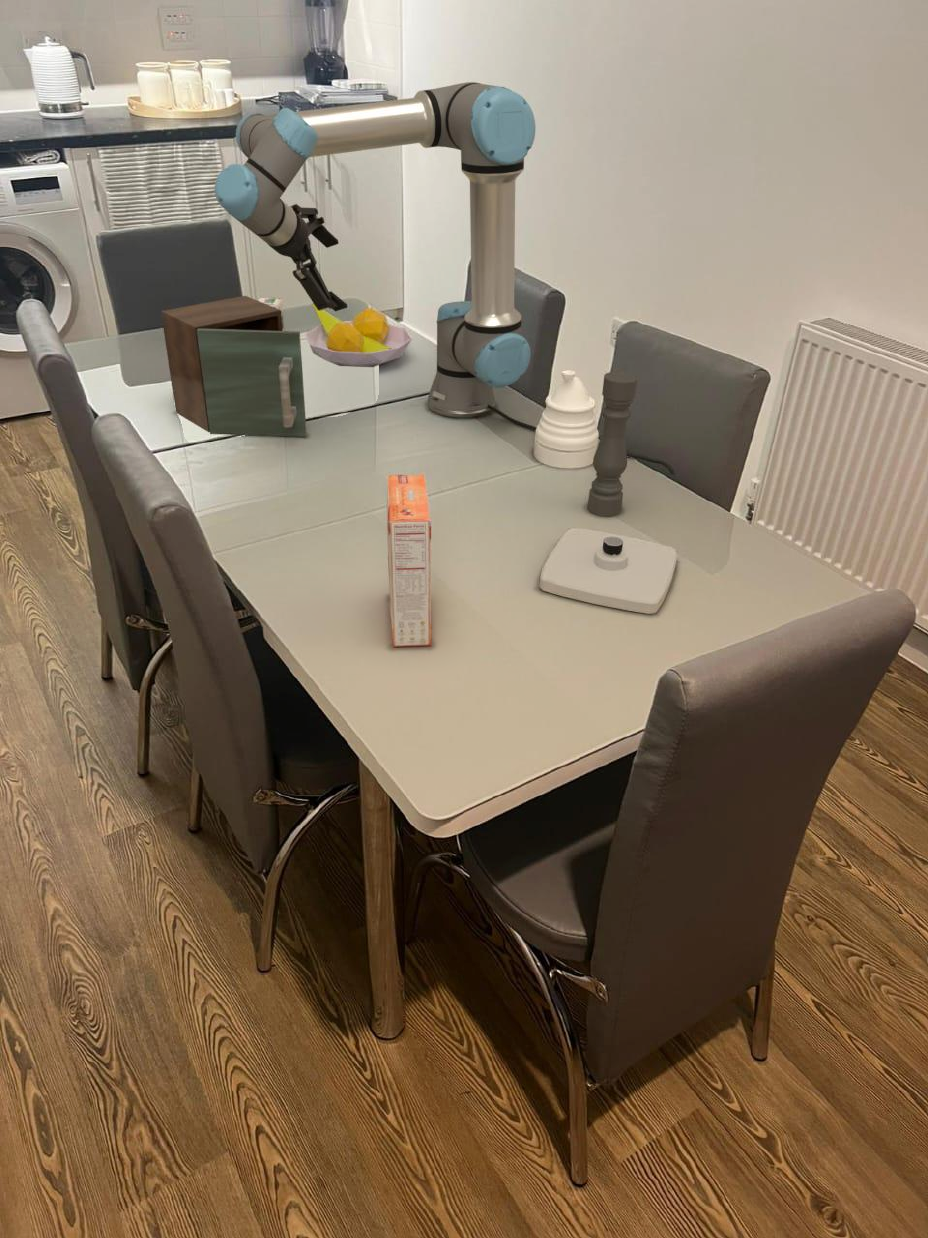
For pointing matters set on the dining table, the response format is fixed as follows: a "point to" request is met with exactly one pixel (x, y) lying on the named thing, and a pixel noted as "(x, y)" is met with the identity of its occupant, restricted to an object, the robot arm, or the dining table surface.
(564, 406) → the honey pot
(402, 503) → the cracker box
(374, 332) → the fruit bowl
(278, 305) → the syrup box
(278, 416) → the cupboard door
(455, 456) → the dining table surface
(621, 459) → the candle holder
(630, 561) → the showerhead
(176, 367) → the cupboard
